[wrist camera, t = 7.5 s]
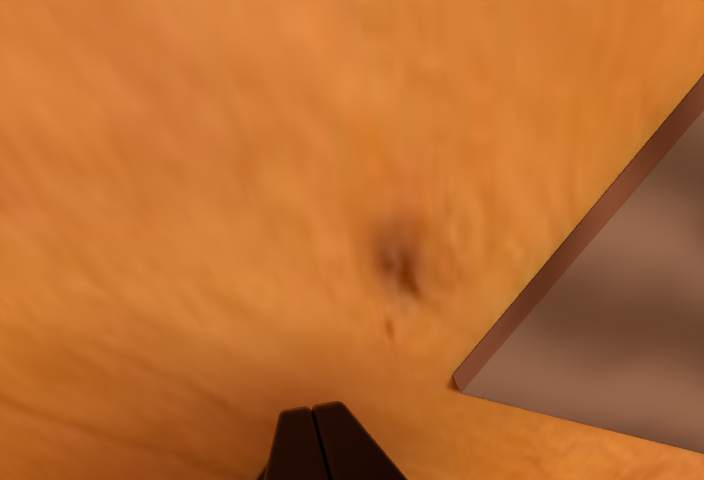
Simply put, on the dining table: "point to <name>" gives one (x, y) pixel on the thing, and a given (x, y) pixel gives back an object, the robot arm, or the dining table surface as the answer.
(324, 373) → the dining table surface
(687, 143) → the tuner board
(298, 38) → the dining table surface
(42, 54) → the dining table surface
